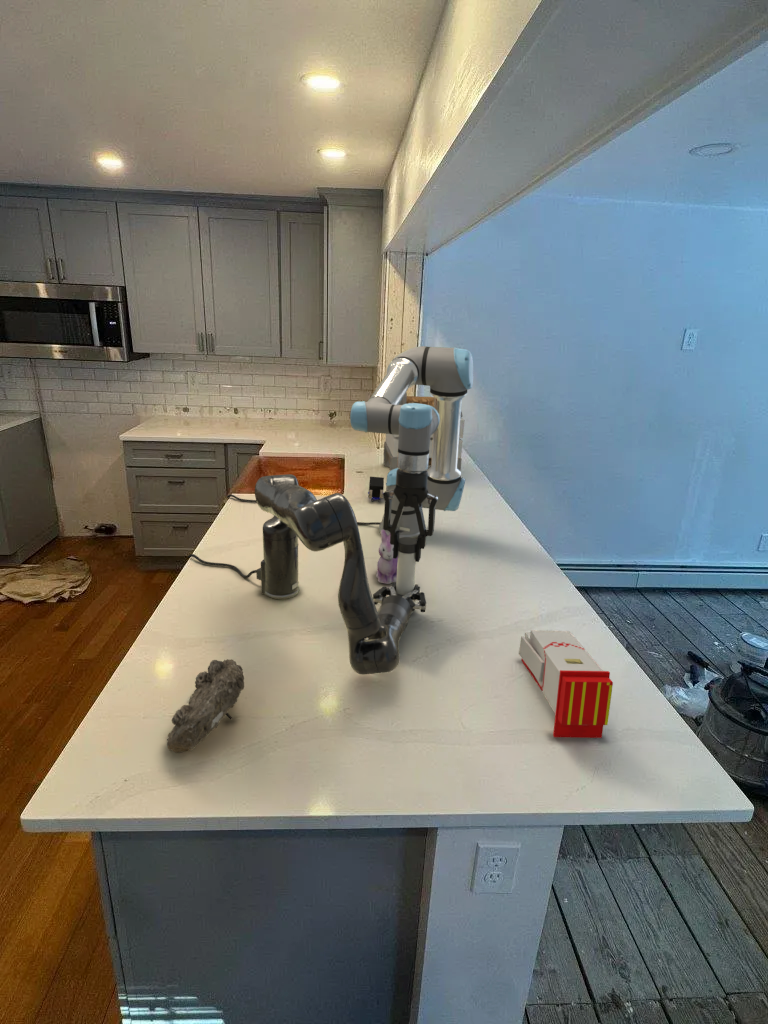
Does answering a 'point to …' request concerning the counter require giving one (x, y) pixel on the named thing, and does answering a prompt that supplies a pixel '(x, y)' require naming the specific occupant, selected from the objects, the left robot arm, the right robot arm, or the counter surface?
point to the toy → (568, 682)
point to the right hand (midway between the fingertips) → (406, 557)
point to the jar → (405, 573)
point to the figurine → (386, 561)
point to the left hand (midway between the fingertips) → (406, 586)
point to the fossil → (206, 705)
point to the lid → (407, 545)
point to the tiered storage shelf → (392, 440)
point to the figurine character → (376, 488)
